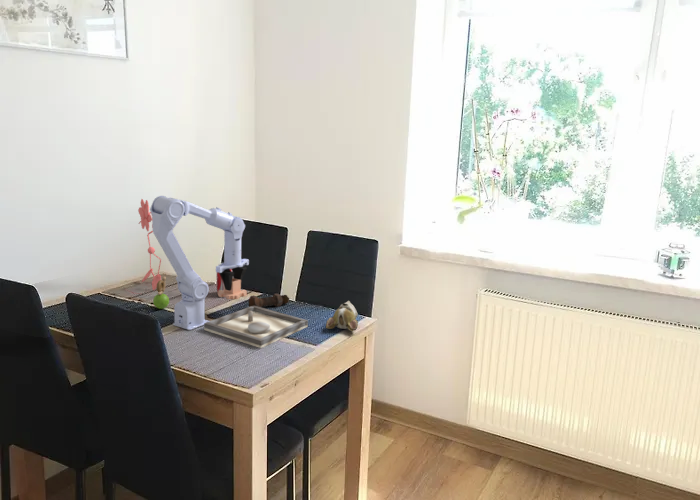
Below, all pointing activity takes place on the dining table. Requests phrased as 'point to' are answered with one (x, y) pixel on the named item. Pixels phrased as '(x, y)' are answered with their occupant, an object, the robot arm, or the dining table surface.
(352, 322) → the ceramic sculpture
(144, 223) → the figurine
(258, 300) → the bolt
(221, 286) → the soda can
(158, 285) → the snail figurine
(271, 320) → the carrier plate
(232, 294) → the gear
